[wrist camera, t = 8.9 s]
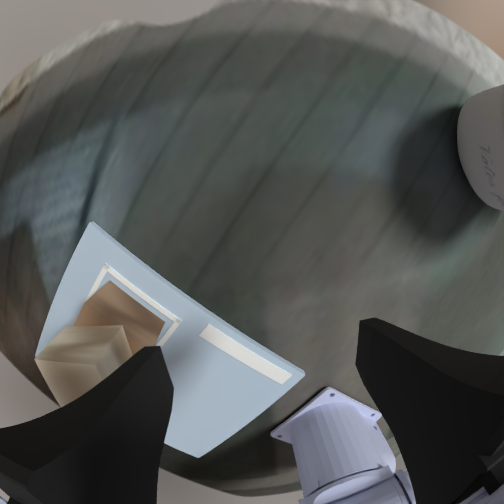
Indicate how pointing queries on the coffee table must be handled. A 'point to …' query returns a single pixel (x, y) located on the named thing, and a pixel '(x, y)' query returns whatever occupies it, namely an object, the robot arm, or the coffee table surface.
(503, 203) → the teacup
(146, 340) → the walnut base
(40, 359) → the maple block
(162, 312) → the board
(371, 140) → the coffee table surface
